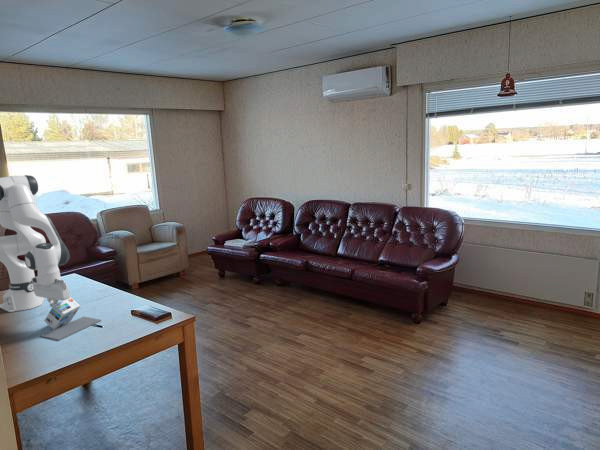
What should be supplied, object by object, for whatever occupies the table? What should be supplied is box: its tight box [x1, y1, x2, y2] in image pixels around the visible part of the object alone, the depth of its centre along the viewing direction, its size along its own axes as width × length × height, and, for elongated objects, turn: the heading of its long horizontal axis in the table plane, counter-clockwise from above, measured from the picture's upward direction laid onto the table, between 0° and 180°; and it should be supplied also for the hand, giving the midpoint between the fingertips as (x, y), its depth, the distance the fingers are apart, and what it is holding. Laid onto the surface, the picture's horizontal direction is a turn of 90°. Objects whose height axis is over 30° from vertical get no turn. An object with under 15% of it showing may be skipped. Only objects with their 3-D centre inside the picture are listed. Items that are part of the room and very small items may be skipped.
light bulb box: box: [43, 296, 81, 330], centre depth 196 cm, size 11×7×11 cm
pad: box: [40, 316, 102, 342], centre depth 194 cm, size 12×22×1 cm, turn 156°
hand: (54, 306), depth 196 cm, fingers closed
